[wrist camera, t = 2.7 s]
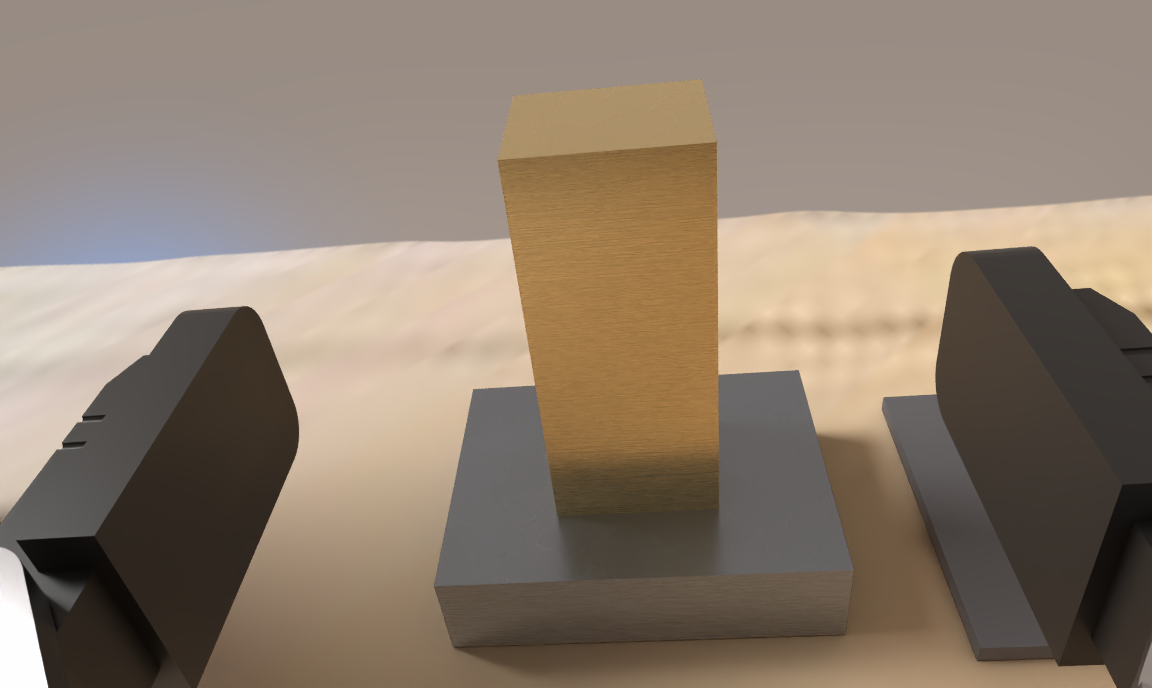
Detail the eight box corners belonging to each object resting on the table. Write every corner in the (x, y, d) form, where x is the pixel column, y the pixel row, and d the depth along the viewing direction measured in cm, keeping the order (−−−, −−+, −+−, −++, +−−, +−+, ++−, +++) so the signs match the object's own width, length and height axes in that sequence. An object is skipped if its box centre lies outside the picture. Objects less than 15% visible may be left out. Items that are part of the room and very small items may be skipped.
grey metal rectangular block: (453, 647, 27) (433, 586, 25) (486, 447, 34) (473, 389, 33) (845, 634, 26) (854, 570, 24) (794, 431, 33) (798, 370, 32)
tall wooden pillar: (557, 515, 27) (497, 160, 20) (563, 429, 30) (513, 95, 23) (719, 508, 27) (716, 141, 20) (707, 421, 30) (702, 79, 23)
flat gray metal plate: (977, 660, 25) (980, 647, 25) (881, 409, 34) (883, 397, 33) (1388, 648, 24) (1398, 635, 24) (1180, 393, 33) (1185, 380, 33)
